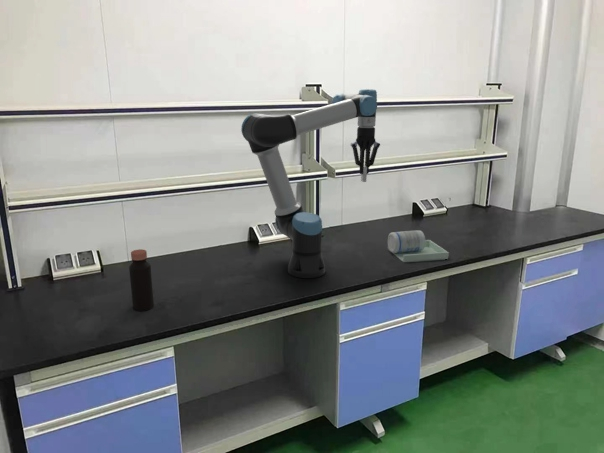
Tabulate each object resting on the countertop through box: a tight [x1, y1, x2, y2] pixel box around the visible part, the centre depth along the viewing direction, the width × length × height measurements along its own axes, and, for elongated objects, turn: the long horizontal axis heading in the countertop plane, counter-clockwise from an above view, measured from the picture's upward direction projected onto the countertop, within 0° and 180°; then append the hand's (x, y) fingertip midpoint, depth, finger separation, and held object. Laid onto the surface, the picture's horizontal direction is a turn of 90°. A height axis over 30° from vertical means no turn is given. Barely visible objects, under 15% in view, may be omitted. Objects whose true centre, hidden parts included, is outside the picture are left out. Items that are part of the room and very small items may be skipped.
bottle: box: [128, 248, 155, 312], centre depth 164 cm, size 7×7×20 cm
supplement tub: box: [387, 230, 426, 254], centre depth 223 cm, size 10×10×15 cm
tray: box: [387, 239, 450, 264], centre depth 222 cm, size 21×18×3 cm
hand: (363, 181), depth 216 cm, fingers closed
